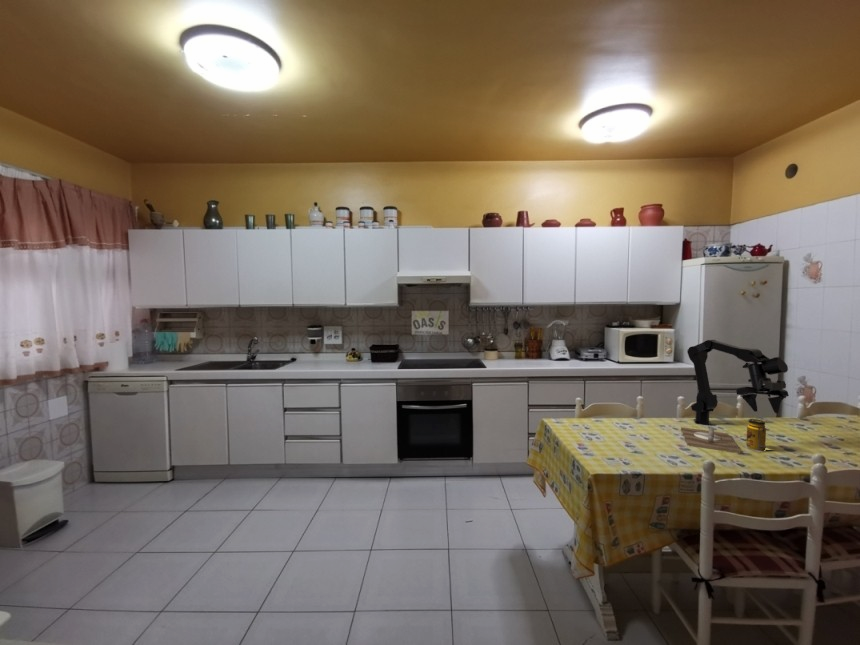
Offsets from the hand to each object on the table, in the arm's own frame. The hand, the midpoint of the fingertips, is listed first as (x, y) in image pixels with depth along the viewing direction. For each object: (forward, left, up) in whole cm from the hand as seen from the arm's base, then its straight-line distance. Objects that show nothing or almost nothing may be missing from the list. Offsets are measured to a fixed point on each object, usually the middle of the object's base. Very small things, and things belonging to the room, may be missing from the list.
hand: (766, 412), depth 160 cm
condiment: (+5, -4, -15) cm, 16 cm away
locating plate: (+4, -21, -15) cm, 26 cm away
